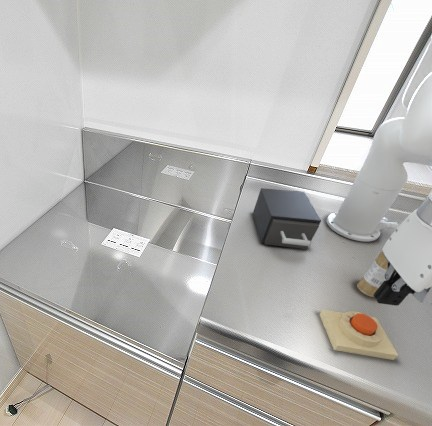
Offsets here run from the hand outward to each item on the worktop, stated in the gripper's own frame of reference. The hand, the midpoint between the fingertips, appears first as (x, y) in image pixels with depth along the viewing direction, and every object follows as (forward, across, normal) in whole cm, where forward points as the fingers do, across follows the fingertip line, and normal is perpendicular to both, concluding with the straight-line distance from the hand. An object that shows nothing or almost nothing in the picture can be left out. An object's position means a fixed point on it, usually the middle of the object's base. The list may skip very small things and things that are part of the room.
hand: (385, 300), depth 51 cm
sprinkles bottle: (+12, +14, -8) cm, 20 cm away
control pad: (+12, 0, 0) cm, 12 cm away
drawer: (+10, +29, +7) cm, 31 cm away
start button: (+8, 0, 0) cm, 9 cm away
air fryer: (+11, +32, +7) cm, 35 cm away
